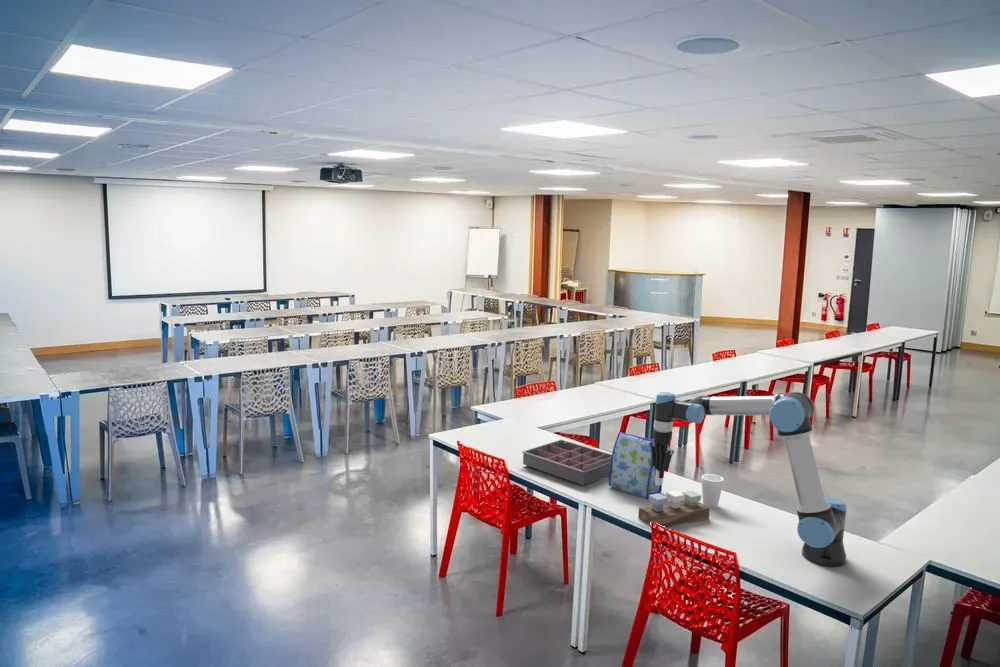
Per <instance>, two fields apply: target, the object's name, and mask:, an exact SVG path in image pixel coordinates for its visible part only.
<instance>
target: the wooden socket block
mask: <svg viewBox="0 0 1000 667" xmlns="http://www.w3.org/2000/svg"><path fill="white" fill-rule="evenodd" d="M669 505H670V500H668V504H663V511H660V512H656V511H654V510H653V504H649V505H644V506H639V507H638V517H637V518H638V519H639V520H640V521H642V522H644V523H645V524H647V525H649V526H650V522H651V521H653V522H655V523H658V524H660V525H662V526H665V527H667V528H671V527H676V526H681V525H685V524H690V523H696V522H701V521H705V520H710V510H711V508H709V507H707V506H706V505H704V504H703V502H701V501H697V502H696V506H692V507H690V506H688V505H687V504H686V500H685V501H680V508H676V509H674V508H672V507H670V506H669Z"/></svg>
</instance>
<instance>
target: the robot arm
mask: <svg viewBox="0 0 1000 667" xmlns="http://www.w3.org/2000/svg"><path fill="white" fill-rule="evenodd" d="M814 411H815V407H814V403H813V401H812V398H810V397H809V396H808V395H807V394H806V393H803V392H800V391H799V392H798V391H794V392H793V391H792V392H780V393H776V394H775V395H760V396H759V395H756V396H755V395H753V396H749V395H748V396H746V395H745V396H742V395H741V396H740V395H739V396H708V395H698V396H696V397H695V398H693V399H690V400H688V401H683V400H678V399H676V395H675V393H672V392H669V391H668V392H667V391H660V392H658V393H657V394H656V397H655V405H654V418H653V419H654V421H653V430H652V431H653V434H652V438H653V439H654V442H650V447H651V456H652V466H654V467H655V476H656V478H655V485H657V486H659V485H662V486H663V484H664V483H663V482H664V481H663V480H664V478H665V471H668V470H669V468H670V464H671V461H672V456H673V455H674V453H675V451H674V449H671V444H670V442H671V441H672V439H673V427H674V420H681V421H684V422H689V423H694V424H701V423H702V421H703V420H704V418H705V416H769V420H770V422H771V424H772V425H773V427H774V428H776V432H777V435H778V437H780V438H781V439H782V440H783V442H784V446H785V449H786V453H787V458H788V461H789V462H788V463H789V465H790V469H791V471H790V472H791V473H792V478H793V483H794V486H795V490H796V494H797V498H798V502H799V504H798V506H797V507H796V514H797V518H798V521H799V522H798V524H797V527H796V528H797V529H796V530H797V535H798V536H799V539H800V540H801V541H802V542H803V545H802V547H801V555H802V557H804V558H805V559H806V560H807V561H810V562H811V563H814V564H817V565H820V566H824V567H833V568H834V567H835V568H836V567H842V566H845V565H846V563H847V553H846V550H845V546H844V545H845V544H844V535H845V534H844V533H845V527H846V526H845V524H846V514H847V513H848V511H847V504H846V503H845V502H844V501H842V500H839V499H837V498H833V497H829V496H825V495H824V490H823V487H822V483H821V479H820V474H819V470H818V467H817V462H816V459H815V454H814V451H813V446H812V441H811V439H810V435H811V433H812V432H813V427H812V424H811V418H812V416H813V415H814Z"/></svg>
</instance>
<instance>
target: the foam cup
mask: <svg viewBox="0 0 1000 667" xmlns="http://www.w3.org/2000/svg"><path fill="white" fill-rule="evenodd" d="M700 479H701V480H700V482H701V492H702V494H701V498H702V504H704V505H706V506H707V507H709V508H710V509H717V508H718V506H719V502H720V498H721V494H722V489H723V486H724V480H725V479H724V477H723V476H721V475H718V474H714V473H712V474H711V473H705V474H702V475H701V478H700Z"/></svg>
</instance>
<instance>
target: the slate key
mask: <svg viewBox="0 0 1000 667" xmlns="http://www.w3.org/2000/svg"><path fill="white" fill-rule="evenodd" d="M648 501H649V502H650V503H651V504H652V505H653V510H654V511H656V512H660V511H663V504H668V502H669V499H668V498H667V497H666V495H663V494H662V493H658V494H652V495H649V499H648Z"/></svg>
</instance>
